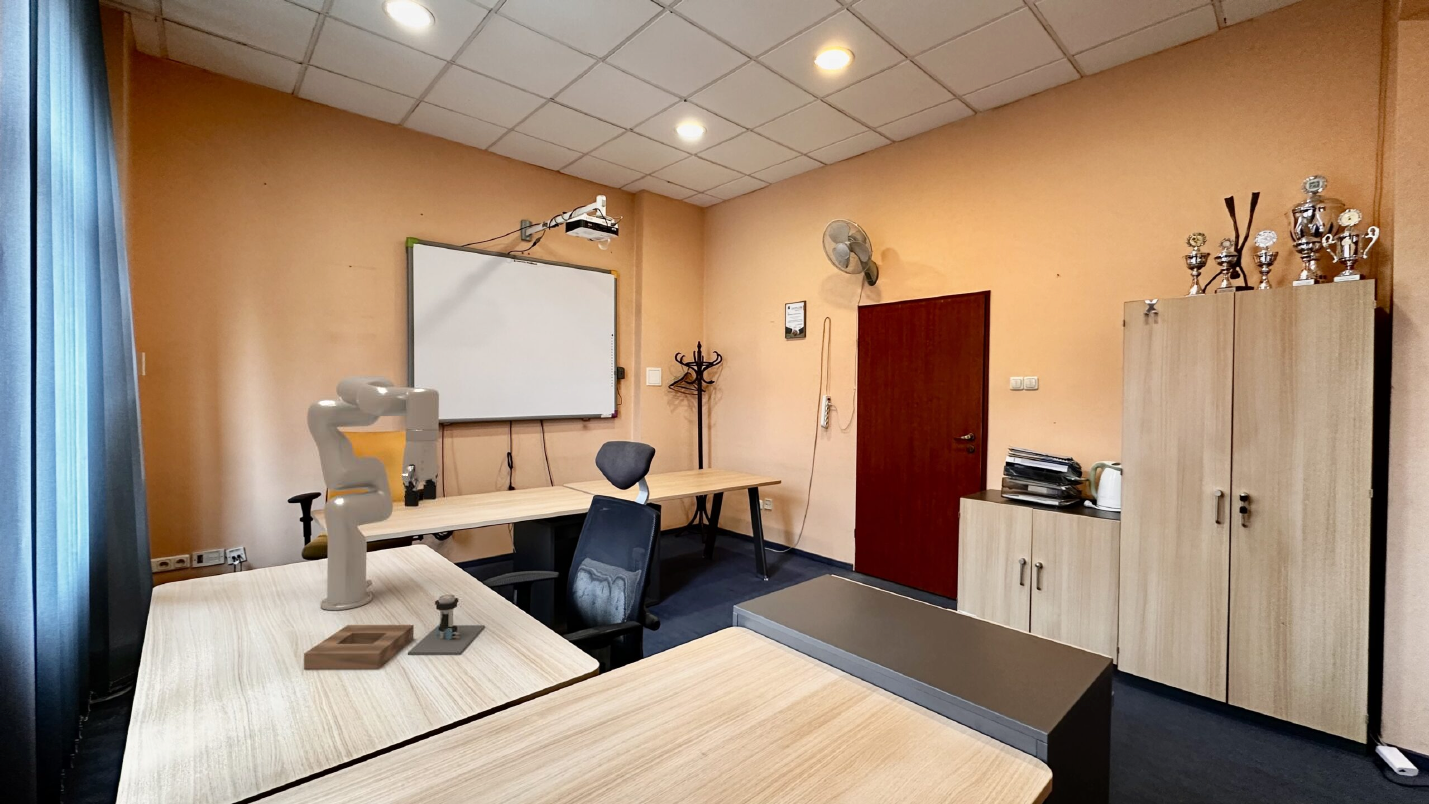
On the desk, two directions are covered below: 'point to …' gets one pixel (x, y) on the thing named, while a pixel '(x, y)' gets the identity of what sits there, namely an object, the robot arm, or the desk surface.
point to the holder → (359, 647)
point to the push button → (446, 616)
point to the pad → (447, 642)
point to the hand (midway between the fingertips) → (420, 502)
